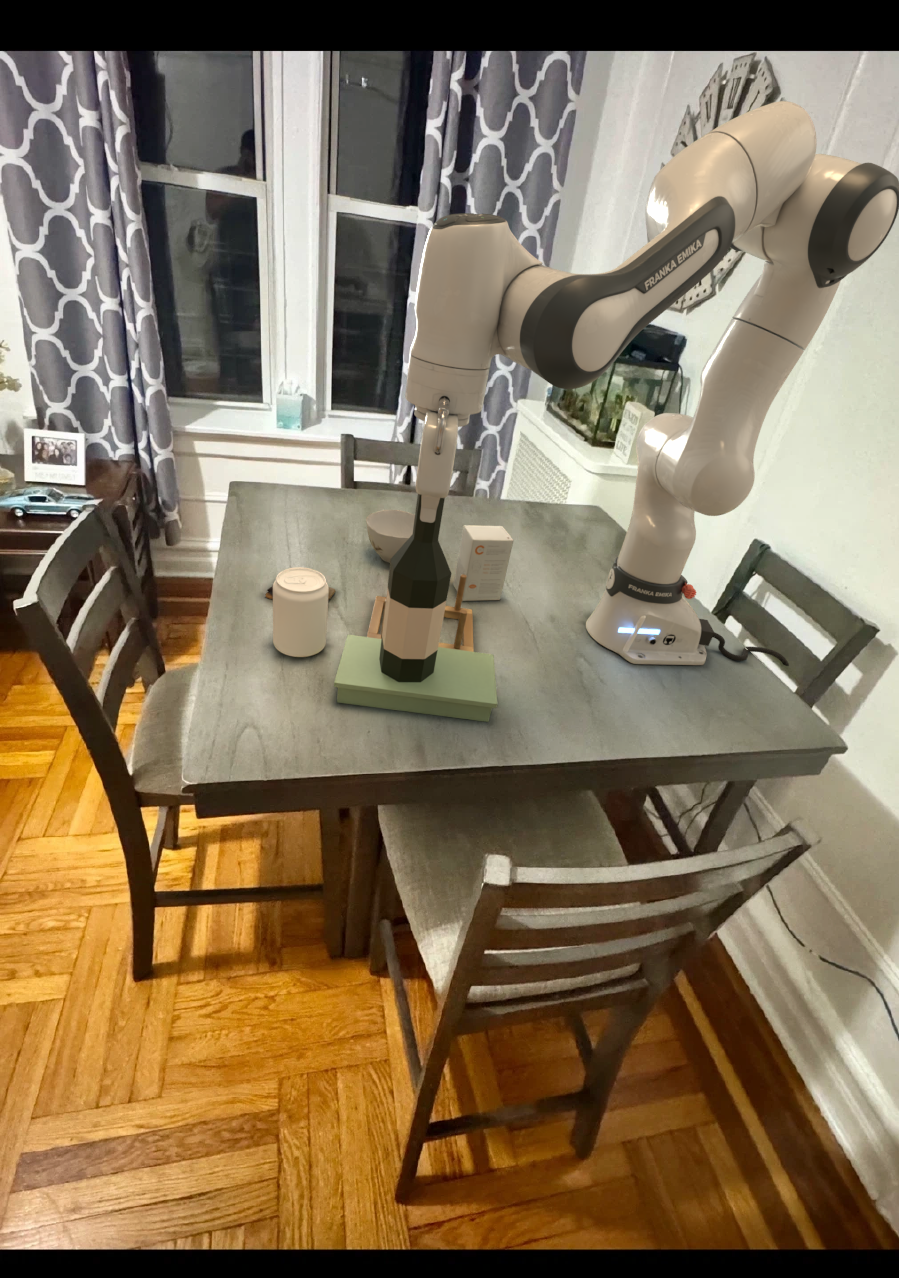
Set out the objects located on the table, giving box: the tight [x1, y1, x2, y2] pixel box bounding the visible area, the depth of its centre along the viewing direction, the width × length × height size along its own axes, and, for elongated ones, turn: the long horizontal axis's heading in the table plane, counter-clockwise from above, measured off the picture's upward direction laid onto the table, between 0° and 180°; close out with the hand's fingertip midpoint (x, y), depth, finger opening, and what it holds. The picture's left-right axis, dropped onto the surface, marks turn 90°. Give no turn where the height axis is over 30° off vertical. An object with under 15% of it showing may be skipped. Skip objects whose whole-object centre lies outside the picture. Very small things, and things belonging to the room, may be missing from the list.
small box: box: [452, 524, 515, 602], centre depth 115 cm, size 8×6×13 cm
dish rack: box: [366, 574, 475, 652], centre depth 102 cm, size 18×14×9 cm
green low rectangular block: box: [333, 634, 498, 723], centre depth 90 cm, size 23×12×4 cm, turn 89°
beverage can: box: [272, 566, 330, 658], centre depth 92 cm, size 8×8×12 cm
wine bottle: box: [379, 493, 452, 682], centre depth 80 cm, size 8×8×30 cm
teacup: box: [365, 509, 415, 564], centre depth 123 cm, size 15×12×8 cm
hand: (428, 504), depth 75 cm, fingers open, 8 cm apart
